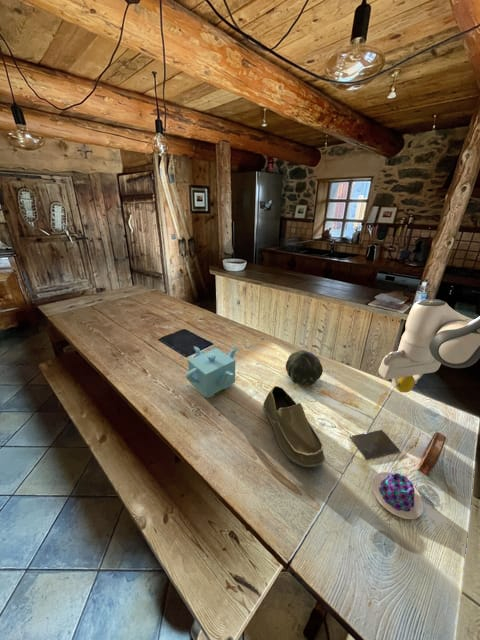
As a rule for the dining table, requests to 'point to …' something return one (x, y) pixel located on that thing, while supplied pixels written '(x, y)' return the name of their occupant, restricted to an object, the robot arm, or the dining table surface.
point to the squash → (304, 367)
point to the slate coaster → (374, 444)
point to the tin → (432, 453)
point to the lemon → (405, 384)
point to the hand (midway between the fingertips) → (403, 384)
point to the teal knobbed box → (211, 371)
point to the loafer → (293, 429)
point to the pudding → (397, 495)
